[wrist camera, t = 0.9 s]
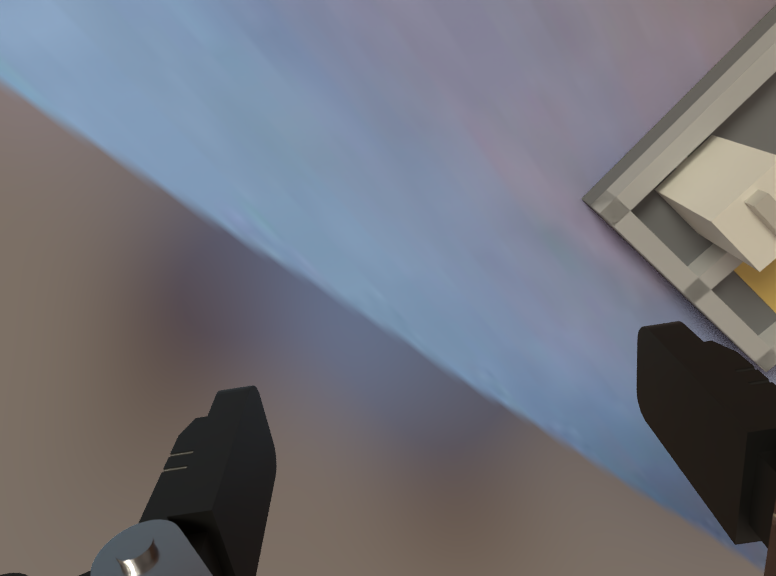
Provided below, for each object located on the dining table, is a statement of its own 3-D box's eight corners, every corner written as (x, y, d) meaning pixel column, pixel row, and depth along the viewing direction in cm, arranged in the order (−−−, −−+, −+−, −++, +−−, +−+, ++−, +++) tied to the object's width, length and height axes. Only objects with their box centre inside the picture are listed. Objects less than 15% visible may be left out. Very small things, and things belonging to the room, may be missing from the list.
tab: (711, 134, 32) (794, 160, 26) (754, 181, 34) (842, 217, 27) (654, 189, 33) (720, 226, 27) (697, 233, 35) (770, 278, 28)
